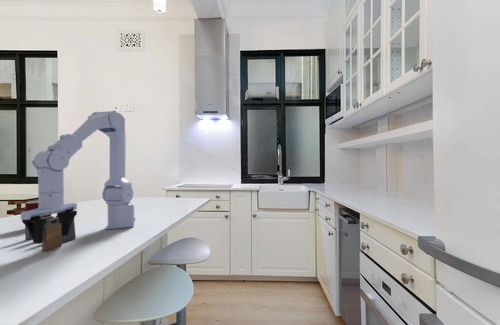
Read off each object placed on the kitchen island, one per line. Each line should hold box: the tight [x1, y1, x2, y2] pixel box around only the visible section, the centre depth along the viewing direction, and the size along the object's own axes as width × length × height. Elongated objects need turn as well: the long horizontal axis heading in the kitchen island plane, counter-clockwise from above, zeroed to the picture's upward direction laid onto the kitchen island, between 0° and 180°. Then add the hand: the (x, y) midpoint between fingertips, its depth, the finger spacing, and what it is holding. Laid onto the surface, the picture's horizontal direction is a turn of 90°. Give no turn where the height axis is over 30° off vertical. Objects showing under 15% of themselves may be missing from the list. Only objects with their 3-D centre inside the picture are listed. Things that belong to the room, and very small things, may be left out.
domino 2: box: [41, 215, 55, 226], centre depth 81 cm, size 2×4×7 cm, turn 167°
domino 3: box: [47, 217, 59, 225], centre depth 80 cm, size 2×4×7 cm, turn 167°
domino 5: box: [57, 218, 77, 244], centre depth 79 cm, size 2×4×7 cm, turn 167°
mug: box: [24, 199, 58, 218], centre depth 96 cm, size 10×8×10 cm
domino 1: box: [24, 216, 43, 241], centre depth 82 cm, size 2×4×7 cm, turn 167°
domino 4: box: [41, 223, 63, 252], centre depth 72 cm, size 2×4×7 cm, turn 167°
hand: (51, 238), depth 72 cm, fingers open, 7 cm apart
